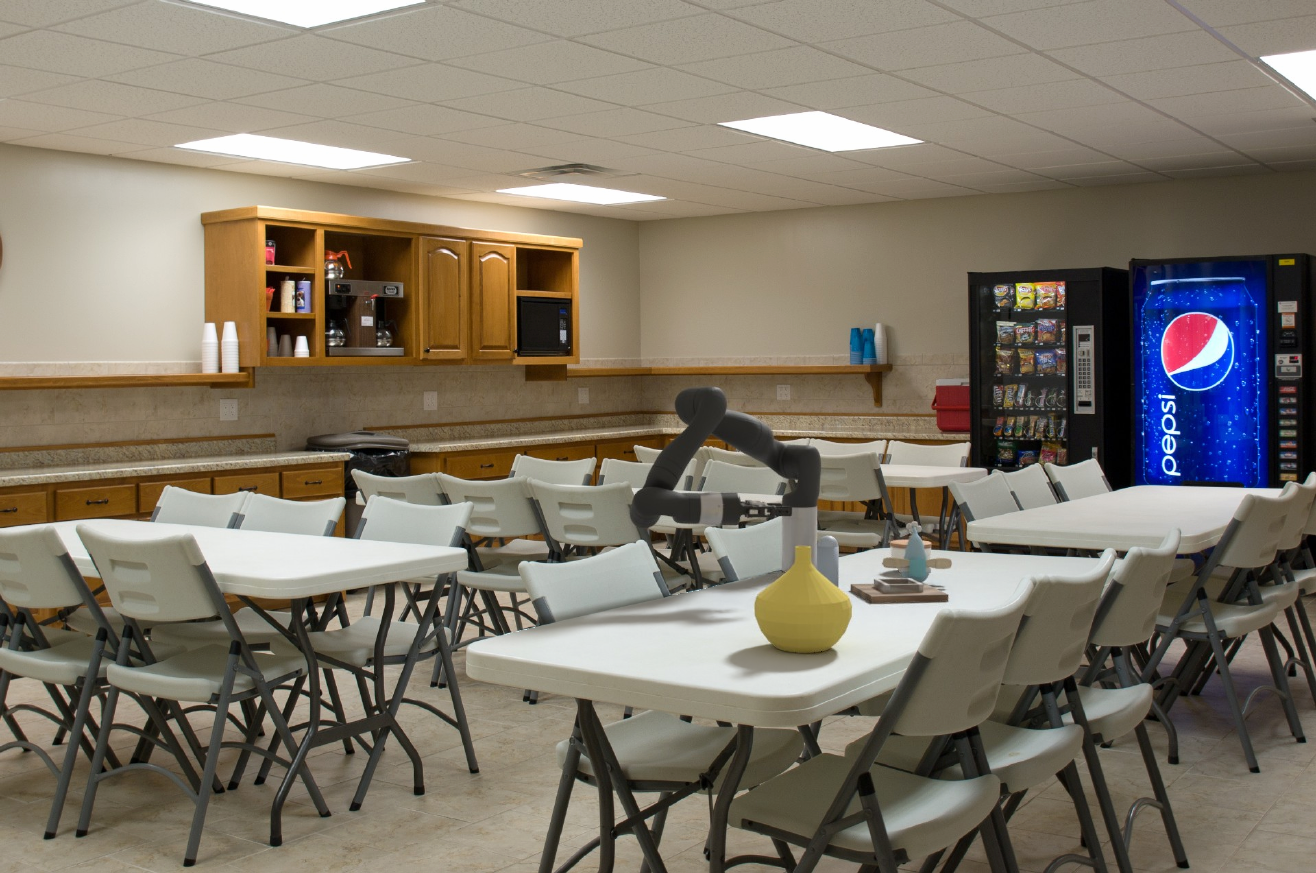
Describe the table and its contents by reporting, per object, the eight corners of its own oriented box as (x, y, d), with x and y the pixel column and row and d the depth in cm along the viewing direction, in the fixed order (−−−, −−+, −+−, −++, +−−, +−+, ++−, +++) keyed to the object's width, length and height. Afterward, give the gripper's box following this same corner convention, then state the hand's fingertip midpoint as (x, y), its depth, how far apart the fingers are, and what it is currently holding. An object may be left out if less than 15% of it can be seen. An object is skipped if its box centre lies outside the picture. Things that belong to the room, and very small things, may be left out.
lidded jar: (900, 567, 335) (900, 532, 335) (937, 570, 329) (938, 535, 329) (882, 572, 327) (883, 536, 326) (921, 576, 320) (921, 539, 320)
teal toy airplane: (946, 580, 314) (947, 520, 313) (952, 587, 303) (952, 525, 303) (879, 579, 316) (879, 520, 315) (882, 585, 305) (883, 525, 304)
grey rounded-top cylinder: (814, 595, 291) (814, 534, 291) (835, 595, 292) (835, 534, 291) (819, 599, 286) (820, 537, 286) (840, 599, 287) (841, 536, 286)
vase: (855, 640, 242) (855, 542, 241) (847, 660, 224) (848, 555, 223) (761, 635, 246) (761, 539, 245) (747, 655, 228) (747, 551, 227)
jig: (850, 590, 299) (850, 576, 298) (922, 588, 301) (923, 575, 301) (871, 603, 282) (872, 588, 282) (948, 601, 284) (948, 586, 284)
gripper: (725, 494, 277) (795, 495, 279) (711, 489, 291) (779, 491, 293) (724, 528, 277) (794, 529, 279) (710, 522, 291) (778, 522, 293)
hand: (786, 509), depth 286 cm, fingers open, 8 cm apart
